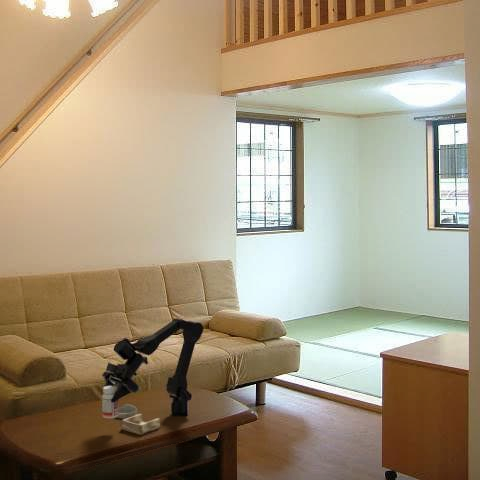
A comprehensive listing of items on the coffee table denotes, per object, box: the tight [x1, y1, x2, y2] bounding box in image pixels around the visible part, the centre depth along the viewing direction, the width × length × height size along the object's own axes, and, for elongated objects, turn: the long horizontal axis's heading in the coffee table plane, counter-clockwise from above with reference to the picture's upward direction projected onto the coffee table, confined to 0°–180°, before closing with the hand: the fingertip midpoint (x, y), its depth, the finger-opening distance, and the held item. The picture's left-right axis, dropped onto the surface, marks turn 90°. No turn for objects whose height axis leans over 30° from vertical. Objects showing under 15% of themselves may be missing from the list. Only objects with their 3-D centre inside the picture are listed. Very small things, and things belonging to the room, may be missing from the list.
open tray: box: [120, 413, 161, 436], centre depth 265 cm, size 11×11×4 cm
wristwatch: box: [116, 403, 138, 420], centre depth 280 cm, size 9×6×5 cm
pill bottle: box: [101, 385, 120, 419], centre depth 261 cm, size 6×6×11 cm
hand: (107, 400), depth 260 cm, fingers closed on pill bottle, 6 cm apart
